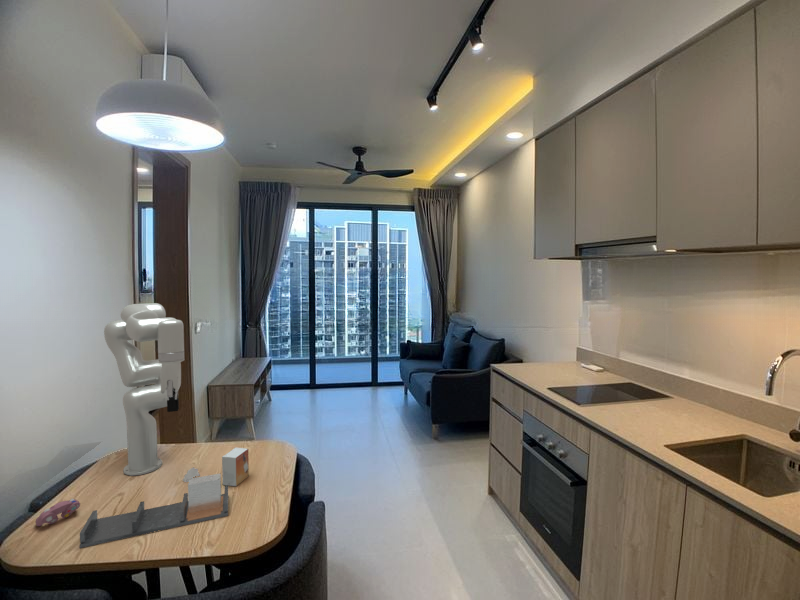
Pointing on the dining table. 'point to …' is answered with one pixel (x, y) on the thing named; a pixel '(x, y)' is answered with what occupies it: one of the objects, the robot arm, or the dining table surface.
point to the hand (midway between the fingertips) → (173, 410)
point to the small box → (235, 466)
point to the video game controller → (58, 512)
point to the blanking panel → (204, 493)
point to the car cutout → (191, 474)
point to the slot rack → (146, 521)
